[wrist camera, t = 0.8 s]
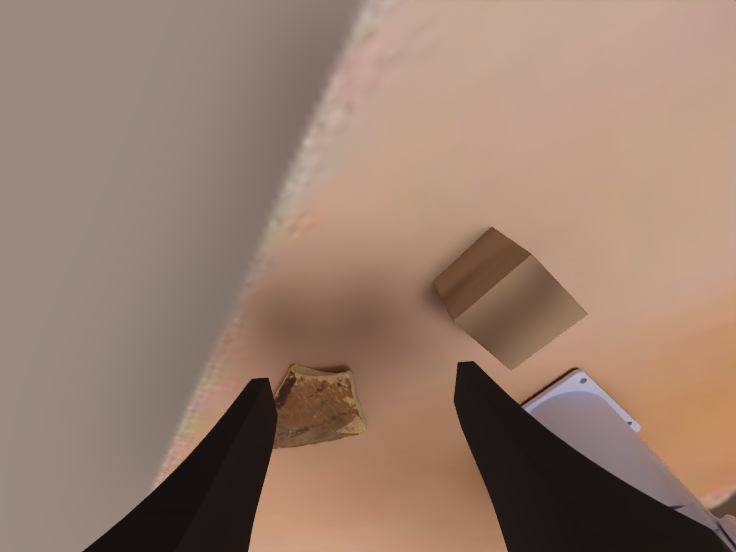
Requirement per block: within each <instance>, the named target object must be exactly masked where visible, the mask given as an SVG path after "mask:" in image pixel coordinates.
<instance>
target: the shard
mask: <svg viewBox="0 0 736 552" xmlns="http://www.w3.org/2000/svg"><path fill="white" fill-rule="evenodd" d="M274 402H275V406H276V410H277V414H278V419H277V426H276V433H275V439H274V445H273V449H278V448H287V447H298V446H303V445H307V444H317V443H321V442H326V441H333V440H337V439H342V438H344V437H348V436H353V435H359V434H361V433H362V432H363V431H365V430H366V428H367V427H366V419H365V417H364V415H363V412H362V409H361V406H360V403H359V401H358V398H357V394H356V389H355V383H354V380H353V373H352V372H351V371H346V372H341V373H331V372H323V371H317V370H314V369H310V368H307V367H302V366H299V365H295V364H294V365H293V366H291V367H290V368H289V370H288V373H287V375H286V376H285V379H284V381H283V383H282V385H281V386H280V387H279V389H278V390H277V392H276V394H275V396H274Z"/></svg>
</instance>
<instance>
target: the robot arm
mask: <svg viewBox="0 0 736 552" xmlns="http://www.w3.org/2000/svg"><path fill="white" fill-rule="evenodd" d="M454 404H455V407H456V411H457V414H458V418H459V421H460V424H461V428H462V430H463V433H464V435H465V437H466V440H467V442H468V445H469V447H470V449H471V452H472V454H473V457H474V459H475V461H476V464H477V466H478V468H479V471H480V473H481V476H482V478H483V480H484V483H485V485H486V487H487V490H488V492H489V495H490V498H491V500H492V503H493V506H494V509H495V512H496V515H497V518H498V521H499V524H500V528H501V531H502V534H503V537H504V540H505V543H506V547H507V550H508V552H736V518H735V517H734V516H731V515H726V516H724V517H723V518H722V519H718V518H717V517H715V516H714V515H712V514H711V513H710V512H709V511H708V510H707V509H706V508H705V507H704V506H703V505H702V504H701V502H700V501H699V500H698V499H697V498H696V497H695V496H694V495H693V494H692V493H691V492H690V491H689V490H688V488H687V487H686V486H685V485H684V484H683V483H682V482H681V481H680V480H679V479H678V478H677V477H676V476H675V474H674V473H673V472H672V471H671V470H670V469H669V468H668V467H667V466H666V465H665V464H664V463H663V462H662V460H661V459H660V458H659V457H658V456H657V455H656V454H655V453H654V452H653V451H652V450H651V449H650V448H649V446H648V445H647V444H646V443H645V442H644V441H643V440H642V439H641V438H640V437H639V436H638V435H637V434H636V432H638V431H639V430H640V428H641V427H640V425H639V424H638V423H637V422H636V421H635V420H634V419H633V418H632V417H631V416H630V415H629V414H628V413H626V412H625V411H624V410H623V409H622V408H621V407H620V406H619V405H618V404H617V403H616V402H615V401H614V400H613V399H612V398H611V397H610V396H609V395H608V394H607V393H605V392H604V391H603V390H602V389H601V388H600V387H599V386H598V385H597V384H596V383H595V382H594V381H593V380H592V379H591V378H590V377H589V376H588V375H587V374H586V373H584V372H583V371H582V370H580V369H577V370H574V371H572V372H571V373H569V374H568V375H567V376H565V377H564V378H562V379H561V380H559V381H558V382H556V383H555V384H553V385H552V386H551V387H549V388H548V389H546V390H545V391H543V392H542V393H540V394H539V395H537V396H536V397H535V398H533V399H532V400H530V401H529V402H527V403H526V404H524V405H523V406H522V407H521V406H520V405H519V404H518V403H517V402H516V401H515V400H513V399H512V398H511V397H510V396H509V395H508V394H507V393H506V392H505V391H504V390H503V389H502V388H501V387H499V386H498V385H497V384H496V383H495V382H494V381H493V380H492V379H491V378H490V377H489V376H488V375H487V374H486V373H485V372H484V371H483V370H482V369H481V368H480V367H479V366H478V365H477V364H476V363H475V362H474V361H470V362H458V366H457V375H456V385H455V394H454ZM277 419H278V414H277V410H276V406H275V402H274V398H273V394H272V390H271V386H270V382H269V378H257V379H251V381H250V382H249V383H248V384H247V385H246V387H245V388H244V389H243V391H242V392H241V393H240V395H239V396H238V397H237V399H236V400H235V401H234V402H233V404H232V405H231V406H230V408H229V409H228V410H227V411H226V413H225V414H224V415H223V416H222V417H221V419H220V420H219V421H218V422H217V424H216V425H215V426H214V427H213V429H212V430H211V431H210V432H209V433H208V434H207V436H206V437H205V438H204V439H203V440H202V441H201V442H200V443H199V445H198V446H197V447H196V448H195V449H194V450H193V451H192V453H191V454H190V455H189V456H188V457H187V458H186V459H185V460H184V461H183V462H182V463H181V464H180V465H179V466H178V467H177V468H176V469H175V470H174V471H173V472H172V473H171V474H170V475H169V476H168V477H167V478H166V479H165V480H164V481H163V482H162V483H161V484H160V485H159V486H158V487H157V488H156V489H155V490H154V491H153V492H152V493H151V494H150V495H149V496H147V497H146V498H145V499H144V500H143V501H142V502H141V503H140V504H139V505H137V506H136V507H135V508H134V509H133V510H132V511H131V512H130V513H129V514H128V515H126V516H125V517H124V518H123V519H122V520H121V521H119V522H118V523H117V524H116V525H115V526H113V527H112V528H111V529H110V530H109V531H107V532H106V533H105V534H104V535H103V536H101V537H100V538H99V539H98V540H96V541H95V542H94V543H93V544H91V545H90V546H89V547H88V548H86V549H85V550H84V551H83V552H248V549H249V543H250V538H251V532H252V527H253V522H254V518H255V514H256V509H257V506H258V502H259V498H260V494H261V491H262V487H263V483H264V479H265V476H266V472H267V468H268V464H269V461H270V457H271V453H272V449H273V445H274V439H275V433H276V426H277Z"/></svg>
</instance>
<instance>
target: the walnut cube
mask: <svg viewBox="0 0 736 552" xmlns="http://www.w3.org/2000/svg"><path fill="white" fill-rule="evenodd" d="M433 282H434V284H435V286H436V288H437V290H438V292H439V294H440V296H441V298H442V300H443V302H444V304H445V306H446V308H447V310H448V312H449V314H450V316H451V318H452V320H453V322H454V323H456V324H457V325H458V326H459V327H460V328H461V329H463V330H464V331H465V332H466V333H467V334H469V335H470V336H471V337H472V338H473V339H474V340H476V341H477V342H478V343H479V344H480V345H481V346H483V347H484V348H485V349H486V350H487V351H489V352H490V353H491V354H492V355H493V356H494V357H496V358H497V359H498V360H499V361H500V362H502V363H503V364H504V365H505V366H506V367H507V368H509V369H510V370H511V371H512V370H513V369H514V368H516V367H517V366H518V365H520V364H521V363H522V362H524V361H525V360H527V359H528V358H529V357H531V356H532V355H533V354H535V353H536V352H537V351H539V350H540V349H541V348H543V347H544V346H545V345H547V344H548V343H550V342H551V341H552V340H554V339H555V338H556V337H558V336H559V335H560V334H562V333H563V332H564V331H566V330H567V329H569V328H570V327H571V326H573V325H574V324H575V323H577V322H578V321H579V320H581V319H582V318H583V317H585V316H586V315H588V313H587V312H586V311H585V310H584V309H583V308H582V307H581V306H580V305H579V304H578V303H577V302H576V300H575V299H574V298H573V297H572V296H571V295H570V294H569V293H568V292H567V291H566V290H565V289H564V288H563V287H562V286H561V285H560V284H559V282H558V281H557V280H556V279H555V278H554V277H553V276H552V275H551V274H550V273H549V272H548V271H547V270H546V269H545V268H544V267H543V265H542V264H541V263H540V262H539V261H538V260H537V259H536V258H535V257H534V256H533V255H532V254H531V253H529V252H528V251H526V250H525V249H524V248H522V247H521V246H519V245H518V244H516V243H515V242H513V241H512V240H510V239H509V238H508V237H506V236H505V235H503V234H502V233H500V232H499V231H497V230H496V229H494V228H493V227H491V228H490V229H489V230H488V231H487V232H486V233H485V234H484V235H483V236H481V237H480V238H479V239H478V240H477V241H476V242H475V243H474V244H473V245H472V246H471V247H470V248H469V249H467V250H466V251H465V252H464V253H463V254H462V255H461V256H460V257H459V258H458V259H457V260H456V261H455V262H453V263H452V264H451V265H450V266H449V267H448V268H447V269H446V270H445V271H444V272H443V273H442V274H440V275H439V276H438V277H437V278H436V279H435V280H434V281H433Z"/></svg>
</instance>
